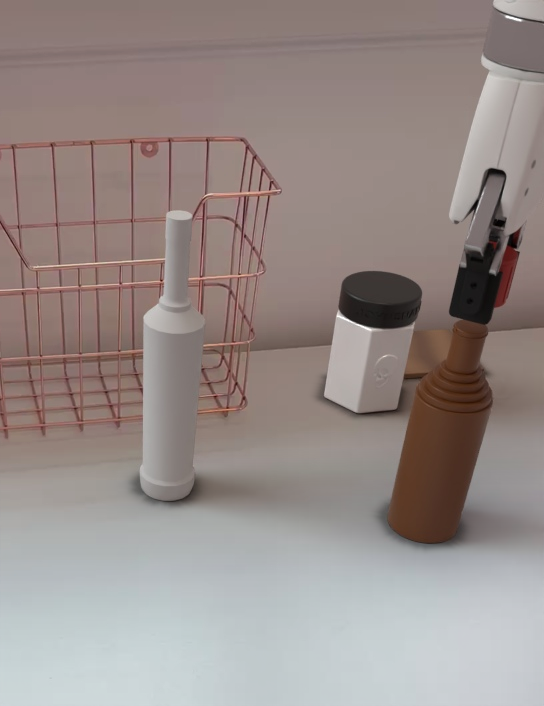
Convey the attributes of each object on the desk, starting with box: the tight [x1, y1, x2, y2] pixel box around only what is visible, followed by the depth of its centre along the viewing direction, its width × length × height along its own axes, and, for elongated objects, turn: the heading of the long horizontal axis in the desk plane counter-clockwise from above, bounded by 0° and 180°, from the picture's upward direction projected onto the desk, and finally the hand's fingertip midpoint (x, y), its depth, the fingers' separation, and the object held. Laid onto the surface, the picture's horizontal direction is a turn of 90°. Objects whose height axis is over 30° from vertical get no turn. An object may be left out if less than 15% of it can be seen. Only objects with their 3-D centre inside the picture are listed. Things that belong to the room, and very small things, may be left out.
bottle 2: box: [386, 319, 494, 544], centre depth 88 cm, size 6×6×19 cm
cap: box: [489, 241, 519, 309], centre depth 78 cm, size 4×4×4 cm
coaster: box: [403, 328, 485, 380], centre depth 118 cm, size 10×10×1 cm
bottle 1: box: [139, 209, 207, 502], centre depth 88 cm, size 5×5×25 cm
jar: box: [323, 270, 423, 414], centre depth 107 cm, size 9×8×12 cm
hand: (478, 306), depth 80 cm, fingers closed on cap, 3 cm apart
